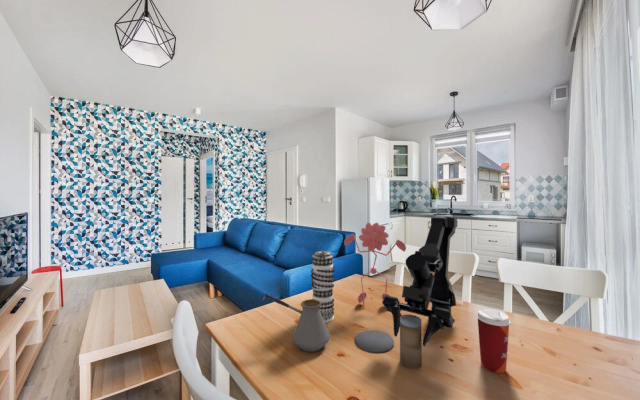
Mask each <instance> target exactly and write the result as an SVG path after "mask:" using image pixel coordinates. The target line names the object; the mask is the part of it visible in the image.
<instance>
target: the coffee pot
mask: <svg viewBox="0 0 640 400" xmlns="http://www.w3.org/2000/svg"><path fill="white" fill-rule="evenodd" d="M266 298H269V300H270V301H274V302H275V303H276V304H279V305H281V306H284V307H285V308H288V309H290V310H292V311H295V312H296V313H298V314H300V316H299V319H298V321H297V324H296V326H295V328H294V330H293V333H292V339H293V342H294V344H295V345H296V346H297V347H299V348H300V349H301V350H302V351H304V352H311V353H312V352H317V351H319V350H321V349H323V348H324V347H325V345H327V343H328V341H329V339H330V331H329V329H328V326H327V323H325V322H324V320H323V317H322V315H321V313H320V310H319V308H320V306H321V302H320V301H318V300H315V299H310V298H309V299H305V300H303V301H301V302H300V307H302V310H301V309H299V308H297V307H295V306H292V305H290V304H289V303H286V302H285V301H284V300H282V299H280V298H277V297H274V296H273V295H269V294H267V293H265V294H264V295H263V298H262V301H264V300H265V299H266Z"/></svg>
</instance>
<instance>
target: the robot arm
mask: <svg viewBox="0 0 640 400" xmlns="http://www.w3.org/2000/svg"><path fill="white" fill-rule="evenodd" d="M456 228H458V219H457V218H455V216H454V215H452V214H451V215H449V214H448V215H445V214H444V215H443V214H436V215H435V216H433V217H432V216H431V217H430V227H429V230H428V233H427V237H426V241H425V244H424V245H423V246H421V247H419V248H418V250H415V252H414V253H413V254H410V255H408V257H406V259H405V265H406V268H407V271H408V273H409V275H410V277H411V278H412V284H410V285H409V286H407V285H403V287H402V294H401V298H404V302H405V303H403V302H400V300H399V299H398V297H395V296H391V295H390V296H385V297H384V298H383V299H382V302H381V303H382V306H383V307H384V308H386V310H385V311H387V312H389V313H391V315H392V321H393V336H394V337H397V336H398V334H399V333H400V316H402V315H403V314H402V313H401V312H402V311H403V312H407V313H410V314H415V315H418V316H419V315H420V316H423V317H426V318H428V319H427V326H426V329H425V331H424V335H423V338H422V339H423V340H422V347H423V346H424V347H425V346H426V345H427V344H428V343H429V341H430V340H431V339H432V337H433V336H434V335H435V334H436V333H437V332H438V331H439V330H444V328H447V329H453V326H454V322H455V321H456V320H455V318H453V315H452V308H453V307H456V305H457V304H456V303H457V300H456V295H455V292H454V289H453V285H452V282H451V281H450V278H449V277H448V276H449V275H448V274H449V264H450V263H449V262H450V261H449V260H450V245H451V239H452V237H453V236H454V235H455V233H456ZM430 303H431V309H429V305H430Z"/></svg>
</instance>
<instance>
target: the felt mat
mask: <svg viewBox="0 0 640 400" xmlns="http://www.w3.org/2000/svg"><path fill="white" fill-rule="evenodd" d="M354 342H355V344H356V346H357V347H359V348H360V349H362V350H364V351H367V352H369V353H376V354H377V353H381V354H382V353H386V352H389V351H390V350H392V349H393V348H394V347H395V346H394V345H395V341H394V339H393V337H392V336H390V335H389V334H388V333H386V332H383V331H379V330H374V329H373V330H371V329H368V330H363V331H362V330H361V331H360V332H358V333H357V334H356V335H355V337H354Z"/></svg>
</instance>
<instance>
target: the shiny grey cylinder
mask: <svg viewBox="0 0 640 400" xmlns="http://www.w3.org/2000/svg"><path fill="white" fill-rule="evenodd" d="M401 315H402V316H400V328H399V362H400V364H401V366H403V367H405V368H407V369H410V370H418V369H420V368H421V367H422V366H423V360H422V359H423V357H422V356H423V354H422V353H423V352H422V351H423V348H422V347H423V340H422V339H423V338H422V337H423V336H422V335H423V334H422V319H421V318H420V317H419V316H417V315H414V314H401Z"/></svg>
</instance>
